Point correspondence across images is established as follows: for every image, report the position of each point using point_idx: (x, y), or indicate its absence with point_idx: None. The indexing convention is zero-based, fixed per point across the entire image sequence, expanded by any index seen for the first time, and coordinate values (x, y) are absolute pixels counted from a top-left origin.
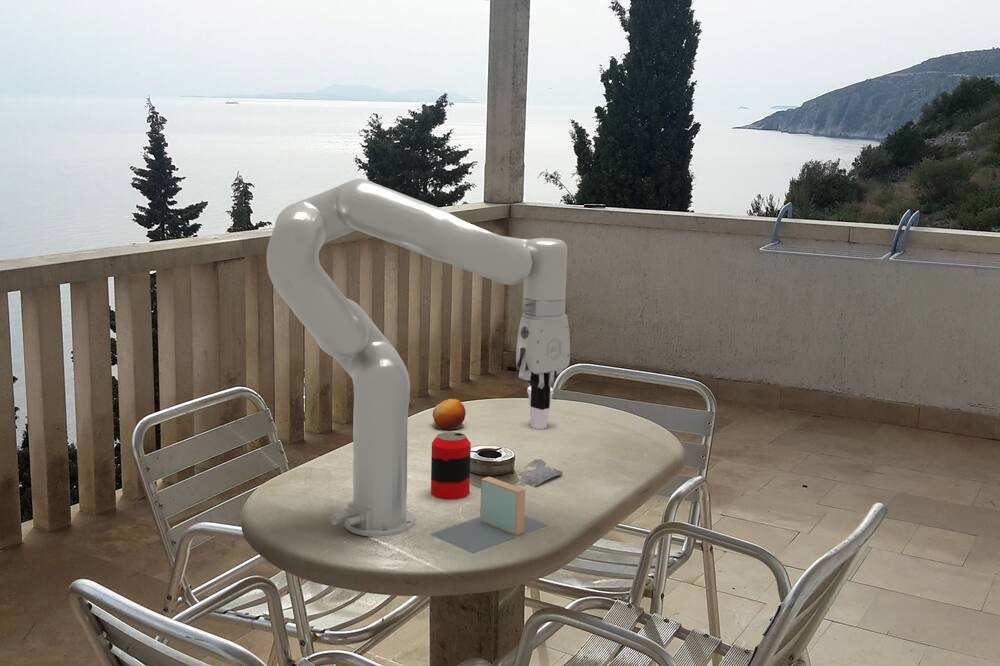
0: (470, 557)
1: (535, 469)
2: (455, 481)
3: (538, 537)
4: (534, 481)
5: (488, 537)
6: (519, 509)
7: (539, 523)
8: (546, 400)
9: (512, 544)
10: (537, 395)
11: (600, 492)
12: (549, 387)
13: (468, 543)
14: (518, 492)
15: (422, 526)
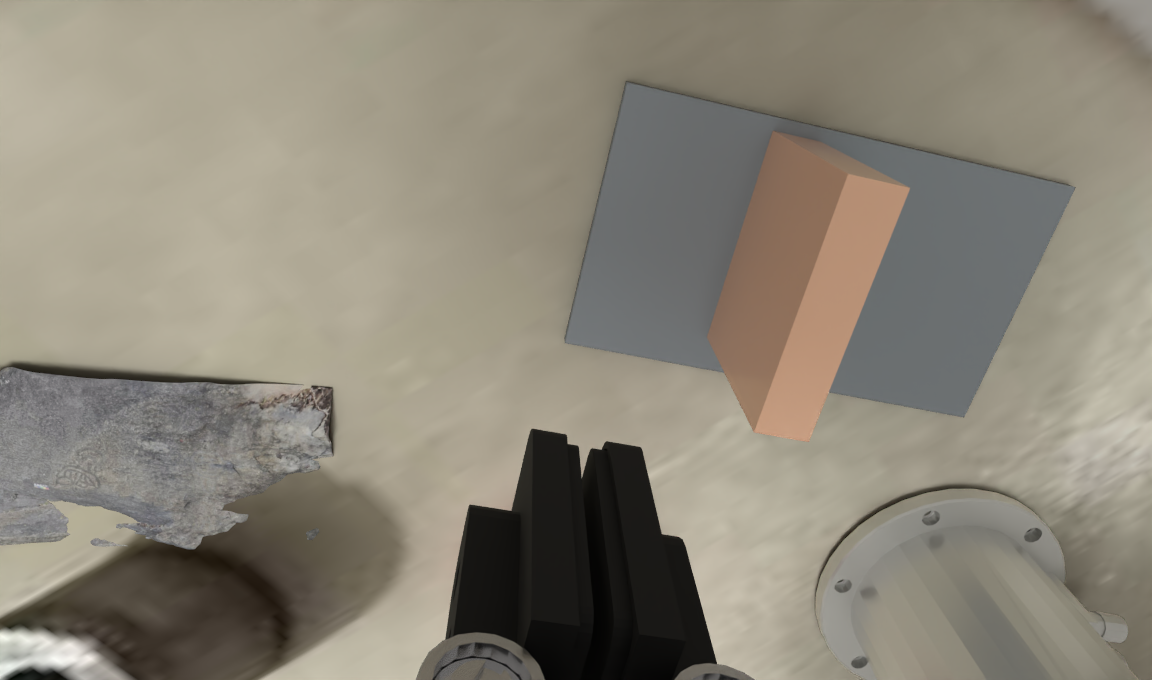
0: (1083, 184)
1: (54, 486)
2: None
3: (757, 59)
4: (191, 412)
5: (897, 225)
6: (849, 161)
7: (635, 128)
8: (582, 503)
9: (886, 115)
10: (699, 624)
11: (25, 101)
12: (550, 625)
13: (991, 254)
14: (901, 185)
15: (878, 480)
